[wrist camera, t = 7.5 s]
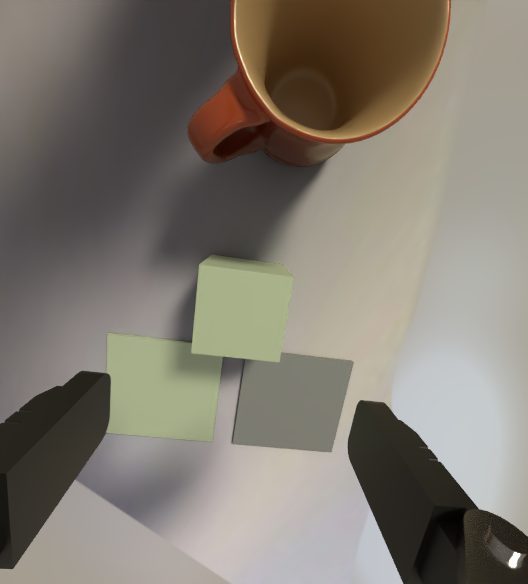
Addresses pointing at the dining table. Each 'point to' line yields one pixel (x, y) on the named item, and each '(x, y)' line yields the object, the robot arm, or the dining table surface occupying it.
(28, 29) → the dining table surface
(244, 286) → the pale green cube
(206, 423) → the sage pad
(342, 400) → the grey pad
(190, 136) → the mug
